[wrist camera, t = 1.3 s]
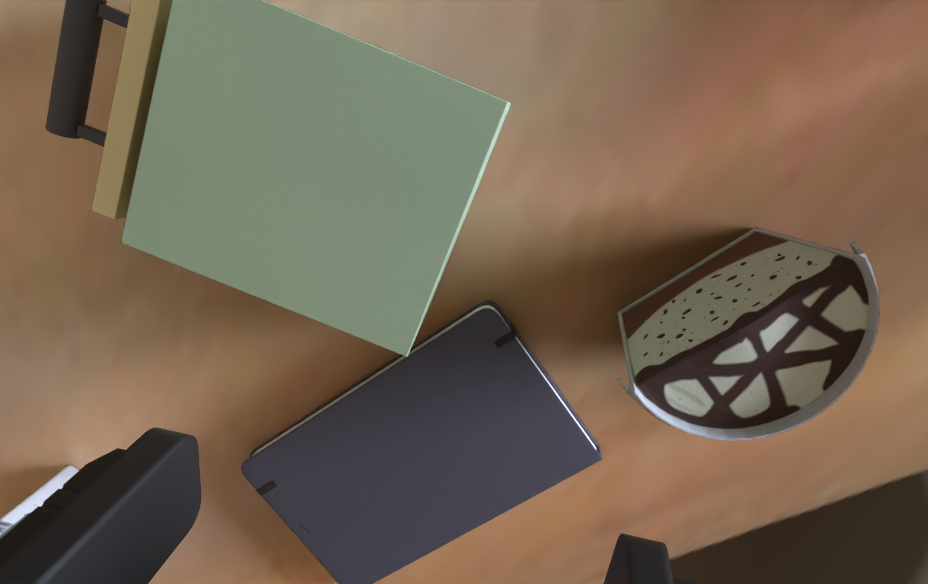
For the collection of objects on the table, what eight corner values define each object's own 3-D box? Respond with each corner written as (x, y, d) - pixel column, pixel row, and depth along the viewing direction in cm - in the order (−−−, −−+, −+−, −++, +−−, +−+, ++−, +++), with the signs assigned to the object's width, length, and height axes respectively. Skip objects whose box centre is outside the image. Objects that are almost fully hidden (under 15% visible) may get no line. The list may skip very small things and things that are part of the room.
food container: (648, 399, 39) (691, 494, 29) (596, 325, 38) (623, 398, 28) (829, 296, 36) (943, 364, 26) (779, 212, 35) (879, 251, 25)
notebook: (354, 580, 45) (599, 446, 40) (349, 596, 44) (603, 459, 39) (245, 455, 43) (491, 295, 38) (235, 467, 41) (490, 303, 36)
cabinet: (216, 210, 37) (119, 243, 28) (271, 3, 34) (179, -36, 25) (433, 297, 38) (407, 357, 29) (511, 103, 34) (508, 101, 25)
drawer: (103, 159, 36) (-4, 173, 29) (141, -38, 33) (31, -81, 25) (385, 273, 37) (351, 315, 29) (451, 91, 33) (433, 86, 26)
